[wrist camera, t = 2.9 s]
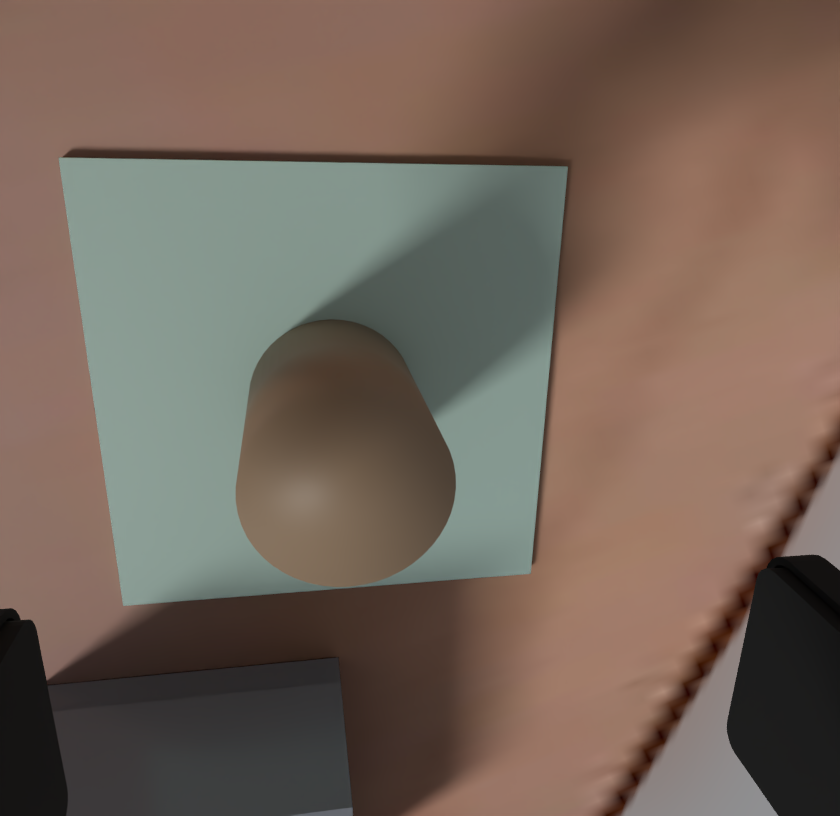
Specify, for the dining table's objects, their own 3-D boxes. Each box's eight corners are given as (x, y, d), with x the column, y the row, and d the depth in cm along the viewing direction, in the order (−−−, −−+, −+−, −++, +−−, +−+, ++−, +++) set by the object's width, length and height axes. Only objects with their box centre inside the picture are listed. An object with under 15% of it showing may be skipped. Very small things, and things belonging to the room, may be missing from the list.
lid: (69, 156, 16) (-43, 171, 10) (555, 164, 18) (673, 181, 12) (129, 588, 20) (71, 759, 14) (522, 558, 21) (599, 701, 16)
